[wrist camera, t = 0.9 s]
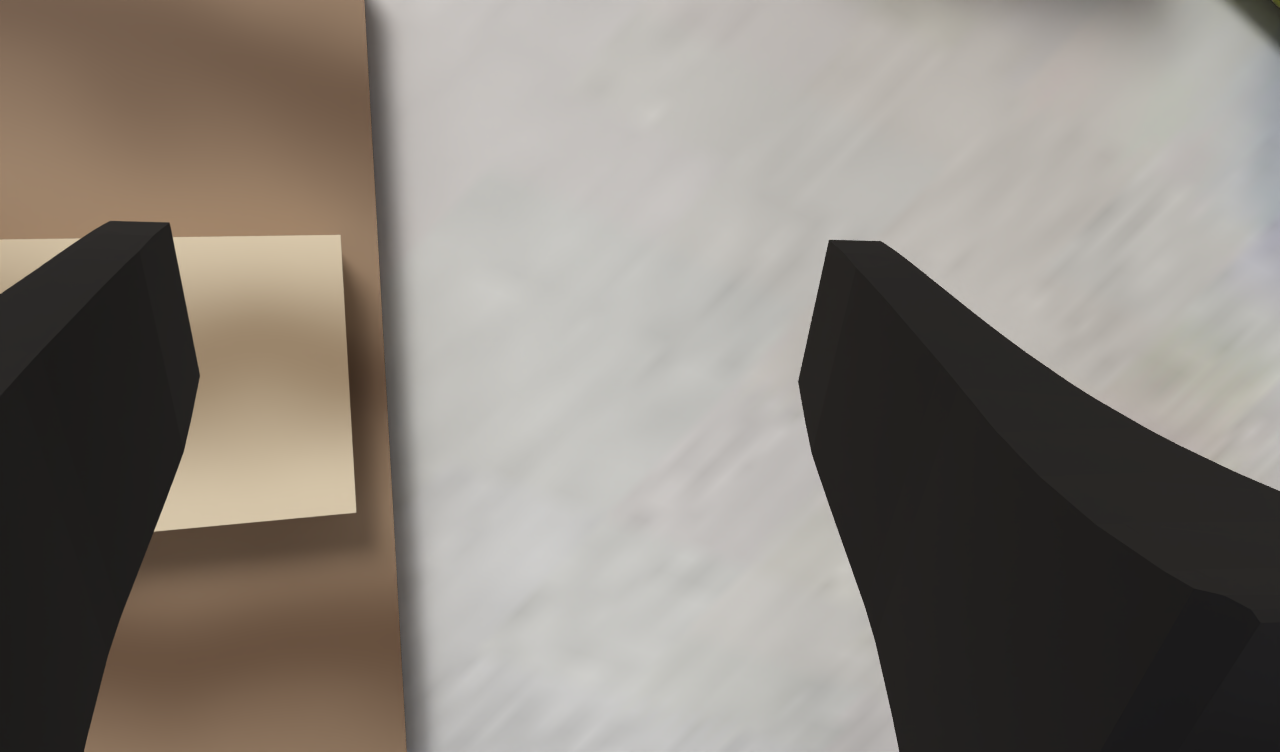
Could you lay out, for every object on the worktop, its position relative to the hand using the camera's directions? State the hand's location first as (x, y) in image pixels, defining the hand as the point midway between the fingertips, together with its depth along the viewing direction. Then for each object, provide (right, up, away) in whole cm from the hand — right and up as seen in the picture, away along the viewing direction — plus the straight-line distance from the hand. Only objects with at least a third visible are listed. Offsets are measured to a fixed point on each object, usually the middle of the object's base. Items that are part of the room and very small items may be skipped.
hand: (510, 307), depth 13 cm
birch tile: (-9, -1, +12) cm, 15 cm away
